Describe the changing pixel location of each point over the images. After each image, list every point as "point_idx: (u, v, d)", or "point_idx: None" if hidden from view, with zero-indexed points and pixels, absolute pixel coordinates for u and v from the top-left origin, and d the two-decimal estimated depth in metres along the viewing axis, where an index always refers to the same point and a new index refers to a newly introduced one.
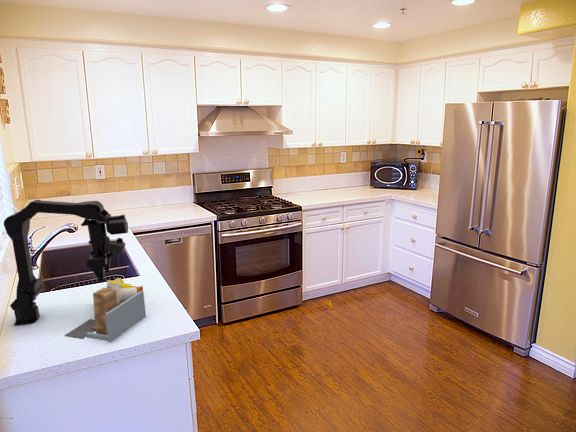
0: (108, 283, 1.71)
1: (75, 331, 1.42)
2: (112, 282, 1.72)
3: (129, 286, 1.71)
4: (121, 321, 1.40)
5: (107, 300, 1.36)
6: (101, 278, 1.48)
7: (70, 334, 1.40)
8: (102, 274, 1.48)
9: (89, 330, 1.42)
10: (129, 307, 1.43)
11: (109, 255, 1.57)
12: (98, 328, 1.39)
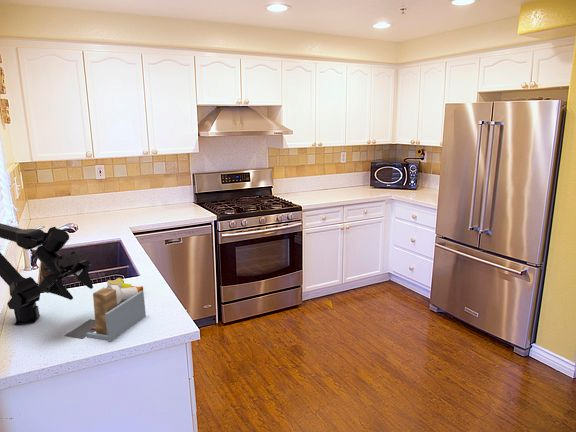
0: (108, 283, 1.71)
1: (75, 331, 1.42)
2: (112, 282, 1.72)
3: (129, 286, 1.71)
4: (121, 321, 1.40)
5: (107, 300, 1.36)
6: (69, 297, 1.36)
7: (70, 334, 1.40)
8: (65, 292, 1.36)
9: (89, 330, 1.42)
10: (129, 307, 1.43)
11: (83, 271, 1.45)
12: (98, 328, 1.39)
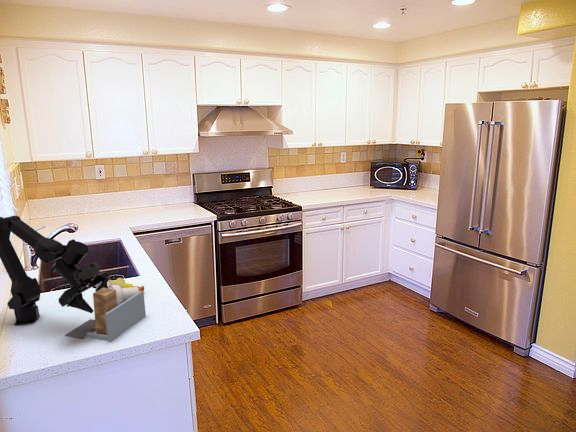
0: (109, 283, 1.71)
1: (75, 331, 1.42)
2: (113, 282, 1.72)
3: (130, 286, 1.71)
4: (121, 321, 1.40)
5: (107, 300, 1.36)
6: (89, 310, 1.35)
7: (70, 334, 1.40)
8: (85, 305, 1.34)
9: (89, 330, 1.42)
10: (129, 307, 1.43)
11: (102, 284, 1.44)
12: (98, 328, 1.39)
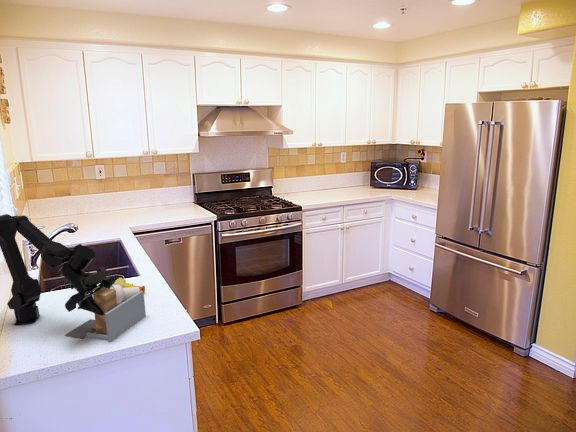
0: None
1: (75, 331, 1.42)
2: None
3: (131, 286, 1.71)
4: (121, 321, 1.40)
5: (107, 300, 1.36)
6: (99, 312, 1.36)
7: (70, 334, 1.40)
8: (96, 308, 1.36)
9: (89, 330, 1.42)
10: (129, 307, 1.43)
11: None
12: (98, 328, 1.39)
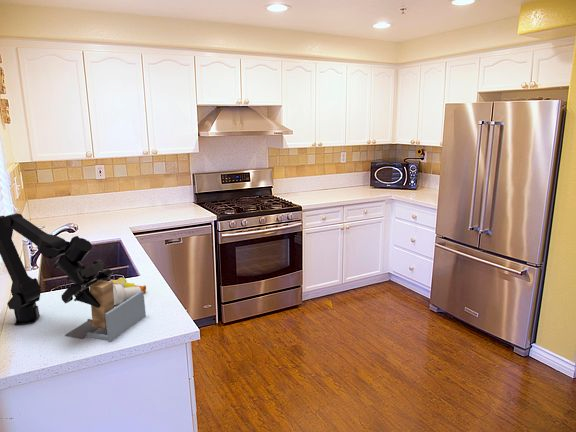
0: None
1: (75, 331, 1.42)
2: (115, 281, 1.72)
3: (132, 285, 1.72)
4: (121, 321, 1.40)
5: (104, 292, 1.35)
6: (96, 304, 1.36)
7: (70, 334, 1.40)
8: (93, 300, 1.35)
9: (89, 330, 1.42)
10: (129, 307, 1.43)
11: None
12: (94, 320, 1.38)
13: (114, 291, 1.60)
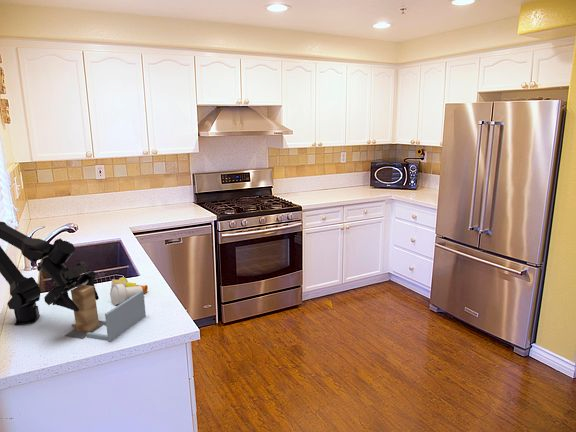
0: (113, 282, 1.72)
1: (75, 331, 1.42)
2: (117, 281, 1.72)
3: (134, 285, 1.72)
4: (121, 321, 1.40)
5: (85, 296, 1.38)
6: (75, 308, 1.36)
7: (70, 334, 1.40)
8: (71, 304, 1.36)
9: None
10: (129, 307, 1.43)
11: (88, 283, 1.45)
12: (78, 325, 1.41)
13: (116, 291, 1.61)
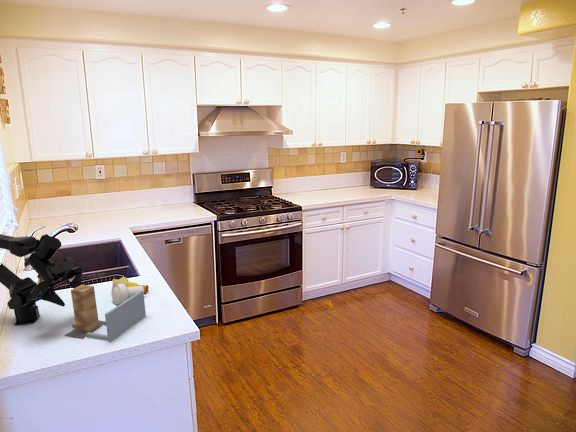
0: (114, 282, 1.72)
1: (75, 331, 1.42)
2: (118, 281, 1.73)
3: (135, 285, 1.72)
4: (121, 321, 1.40)
5: (85, 296, 1.38)
6: (61, 303, 1.38)
7: (70, 334, 1.40)
8: (57, 299, 1.37)
9: None
10: (129, 307, 1.43)
11: (75, 278, 1.47)
12: (78, 325, 1.41)
13: (117, 290, 1.61)
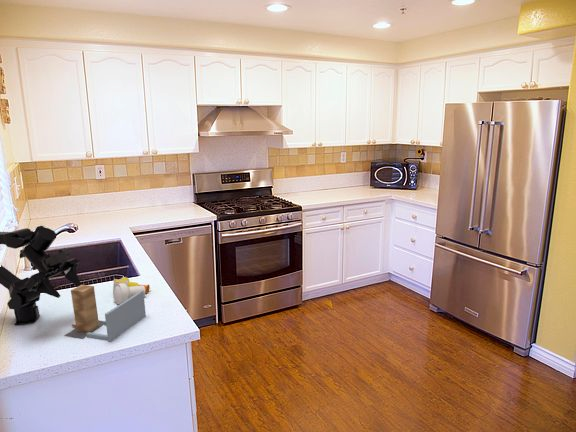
0: (115, 282, 1.72)
1: (75, 331, 1.42)
2: (119, 281, 1.73)
3: (136, 284, 1.72)
4: (121, 321, 1.40)
5: (85, 296, 1.38)
6: (56, 295, 1.37)
7: (70, 334, 1.40)
8: (52, 290, 1.37)
9: None
10: (129, 307, 1.43)
11: (71, 270, 1.46)
12: (78, 325, 1.41)
13: (119, 290, 1.61)
